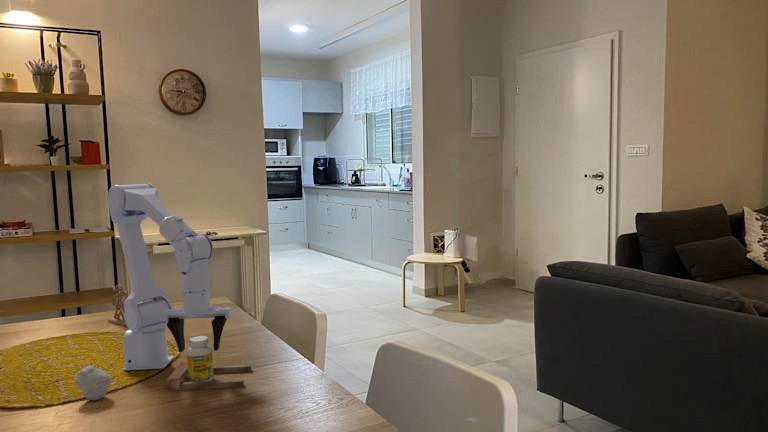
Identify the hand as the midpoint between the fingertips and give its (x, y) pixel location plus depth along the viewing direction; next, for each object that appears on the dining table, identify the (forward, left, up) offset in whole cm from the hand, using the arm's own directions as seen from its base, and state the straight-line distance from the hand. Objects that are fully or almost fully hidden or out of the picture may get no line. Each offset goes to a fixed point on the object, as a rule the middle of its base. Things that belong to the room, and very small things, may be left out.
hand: (199, 349), depth 129 cm
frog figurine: (-20, -8, -7) cm, 23 cm away
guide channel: (+2, 0, -7) cm, 7 cm away
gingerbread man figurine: (-38, +52, -7) cm, 65 cm away
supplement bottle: (0, 0, -7) cm, 7 cm away
